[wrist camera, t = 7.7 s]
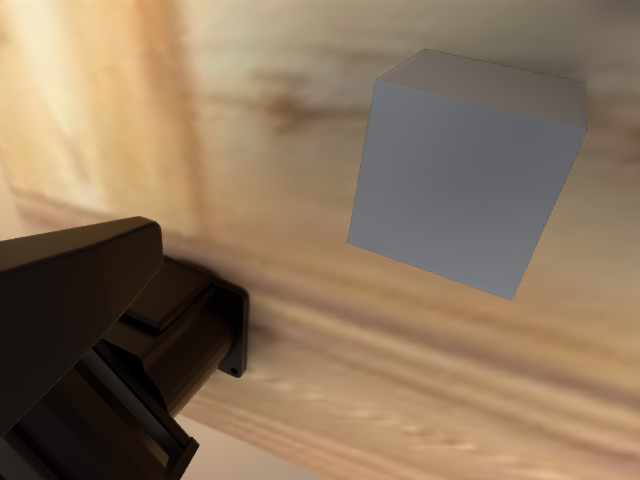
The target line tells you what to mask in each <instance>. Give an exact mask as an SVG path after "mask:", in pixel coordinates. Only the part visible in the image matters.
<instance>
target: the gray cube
mask: <svg viewBox="0 0 640 480" xmlns="http://www.w3.org/2000/svg"><path fill="white" fill-rule="evenodd" d="M586 132H587V109H586V85H585V83H583V82H579V81H574V80H569V79H564V78H560V77H555V76H550V75H545V74H541V73H536V72H531V71H527V70H522V69H517V68H512V67H508V66H503V65H498V64H493V63H489V62H484V61H479V60H475V59H470V58H465V57H460V56H456V55H451V54H446V53H441V52H437V51H432V50H427V49H424V50H423V51H421V52H419V53H418V54H416V55H415V56H413V57H411V58H410V59H408V60H406V61H405V62H403V63H402V64H400V65H398V66H397V67H395V68H394V69H392V70H390V71H389V72H387V73H386V74H384V75H382V76H381V77H379V78H377V79H376V81H375V87H374V92H373V98H372V104H371V110H370V115H369V121H368V127H367V132H366V138H365V144H364V149H363V155H362V161H361V167H360V172H359V178H358V184H357V189H356V195H355V201H354V206H353V212H352V218H351V224H350V229H349V235H348V241H347V243H349V244H352V245H355V246H358V247H361V248H363V249H366V250H369V251H372V252H375V253H378V254H380V255H383V256H386V257H389V258H392V259H395V260H397V261H400V262H403V263H406V264H409V265H412V266H414V267H417V268H420V269H423V270H426V271H429V272H431V273H434V274H437V275H440V276H443V277H446V278H448V279H451V280H454V281H457V282H460V283H463V284H465V285H468V286H471V287H474V288H477V289H480V290H482V291H485V292H488V293H491V294H494V295H497V296H499V297H502V298H505V299H508V300H511V301H512V299H513V296H514V294H515V292H516V290H517V287H518V285H519V283H520V281H521V278H522V276H523V274H524V272H525V269H526V267H527V265H528V263H529V260H530V258H531V256H532V254H533V251H534V249H535V247H536V245H537V242H538V240H539V238H540V236H541V233H542V231H543V229H544V227H545V224H546V222H547V220H548V218H549V215H550V213H551V211H552V209H553V206H554V204H555V202H556V200H557V197H558V195H559V193H560V191H561V188H562V186H563V184H564V182H565V179H566V177H567V175H568V173H569V170H570V168H571V166H572V164H573V161H574V159H575V157H576V155H577V152H578V150H579V148H580V146H581V143H582V141H583V139H584V137H585V134H586Z"/></svg>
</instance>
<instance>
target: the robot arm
mask: <svg viewBox="0 0 640 480" xmlns="http://www.w3.org/2000/svg"><path fill="white" fill-rule="evenodd" d="M247 309H248V297H247V295H246V293H245V292H244V291H243V290H241V289H239V288H237V287H234V286H232V285H230V284H227V283H225V282H222V281H220V280H217V279H215V278H213V277H210V276H208V275H205V274H203V273H201V272H198V271H196V270H193V269H191V268H188V267H186V266H184V265H181V264H179V263H176V262H174V261H171V260H169V259H167V258H164V257H163V244H162V232H161V227H160V225H159V224H158V223H157V222H156V221H153V220H150V219H148V218H145V217H141V216H137V217H131V218H126V219H120V220H115V221H109V222H104V223H98V224H92V225H87V226H81V227H76V228H70V229H65V230H59V231H54V232H48V233H43V234H37V235H31V236H26V237H20V238H15V239H9V240H4V241H0V480H180V479H181V477H182V475H183V474H184V472H185V470H186V468H187V467H188V465H189V463H190V461H191V460H192V458H193V456H194V455H195V453H196V451H197V449H198V448H199V444H198V443H197V441H196V440H195V439H194V438H193V437H189V435H188V434H187V433H186V432H185V431H184V430H183V429H182V428H181V427H180V425H179V424H177V422H176V421H175V420H174V418H175V417H176V415H177V414H178V413H179V412H180V411H181V410H182V408H183V407H184V406H185V405H186V404H187V403H188V402H189V400H190V399H191V398H192V397H193V396H194V395H195V394H196V392H197V391H198V390H199V389H200V388H201V387H202V386H203V384H204V383H205V382H206V381H207V380H208V379H209V377H210V376H211V375H212V374H213V373H214V372H215V371H216V369H219V370H221V371H223V372H225V373H227V374H229V375H231V376H233V377H236V378H239V377H241V376H242V375H243V373H244V372H245V363H246V336H247Z"/></svg>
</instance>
